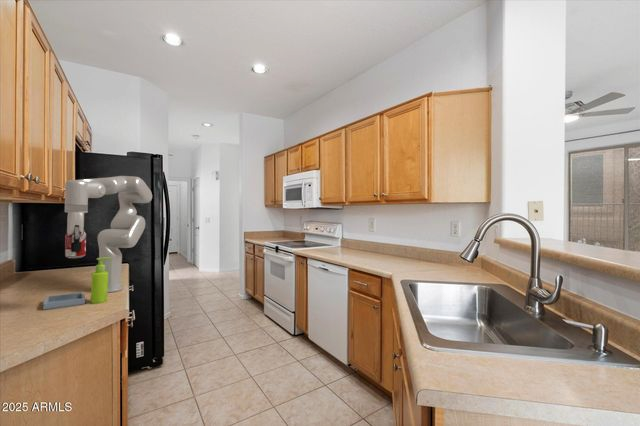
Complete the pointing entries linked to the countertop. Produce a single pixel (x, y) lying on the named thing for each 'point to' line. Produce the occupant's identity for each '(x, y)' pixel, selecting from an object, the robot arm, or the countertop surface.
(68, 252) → the soda can
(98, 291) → the soap dispenser
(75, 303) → the slate tray
